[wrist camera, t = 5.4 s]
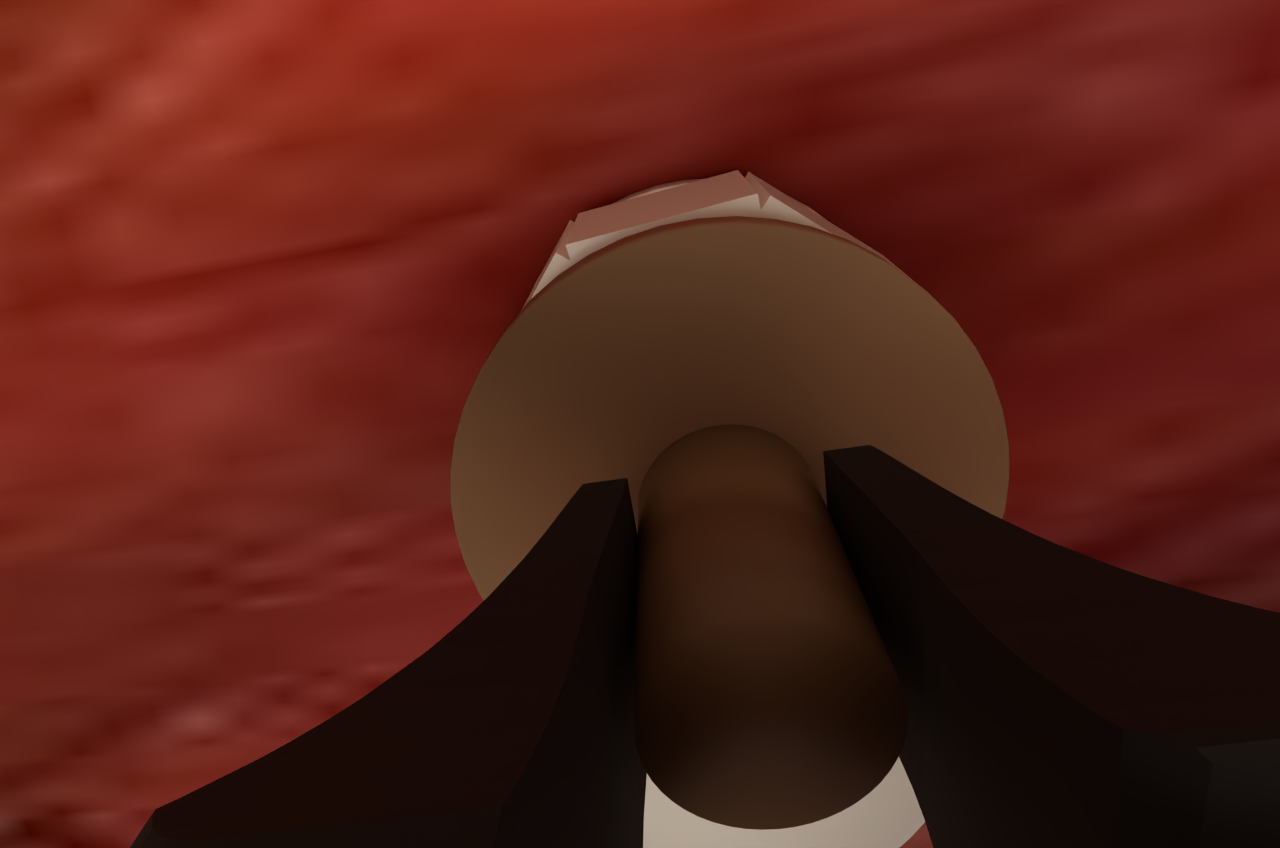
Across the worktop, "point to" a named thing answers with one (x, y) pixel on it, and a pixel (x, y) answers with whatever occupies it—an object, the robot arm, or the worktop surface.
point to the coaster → (841, 844)
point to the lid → (732, 487)
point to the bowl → (679, 216)
